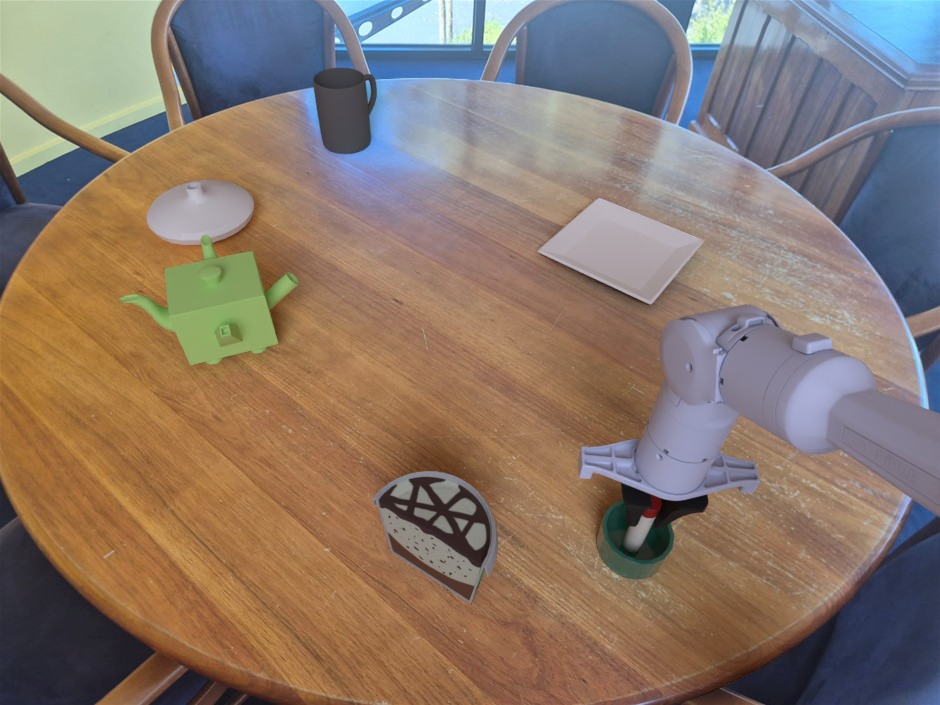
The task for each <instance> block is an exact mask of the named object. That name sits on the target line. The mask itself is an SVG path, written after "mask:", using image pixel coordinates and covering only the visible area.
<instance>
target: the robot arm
mask: <svg viewBox="0 0 940 705" xmlns="http://www.w3.org/2000/svg"><path fill="white" fill-rule="evenodd" d="M659 359H660V365H661V368H662V372H663V374H664V378H663V379H662V383H661V385H660V388H659V389H658V390H659V391H658V393H657V396H656V398H655V401H654V404H653V406H652V408H651V410H650V413H649V416H648V419H647V421H646V424H645V426H644V429H643V432H642V435H641V436H640V437H636V438H631V439H626V440H622V441H618V442H617V441H616V442H613V443H608V444H604V445H598V446H597V445H596V446H585V445H584V446H581V447H580V451H579V454H578V458H577V467H578V468H577V469H578V470H577V471H578V478H579V479H583V480H585V479H586V480H591V479H592V477H593V475H594V474H597V475H601V476H604V477H605V478H609V479H611V480H614V481H616V482H619V483H620V484H621V485H620V486H621V498H622V500H623V501H624V505H625V506H626V514H627V524H628V526H633V527H636V526H637V525H638V523H639V521H640V518H641V516H642V514H643V513H644V512H645V511H646V510H647V509H649V508H652V501H651V495H654V496H657V497H659V498H661V501H662V507H661V509H660V511H659V513H658V515H657V516H656V517H655V519H654V528H655V529H662V528H664V527H665V526H667V525H668V524H670V523H671V524H672V523H673V522H675V521H676V520H678V519H680V518H683V517H685V516H688V515H689V516H690V515H692V514H702V513H705V511H706V510H707V507H708V506H709V503H710V502H709V497H708V496H709V495H711V494H715V493H718V492H723V491H727V490H731V489H736V488H738V491H739V492H740V493H742V494H749V495H753V494H754V492H755V491H756V489H757V488H758V486H760V484H761V482H762V481H761V476H760V473H759V470H758V465H757V462H756V461H754V460H753V461H752V460H744V459H741V458H737V457H734V456H731V455H728V454H726V453H723V452H720V451H721V449H722V447H723V446H724V444H725V443H726V440H727V438H729V436H730V434H731V431H732V430H733V428H734V427H735V425H736V423H737V421H738V419H739V418H740V416H743V417H744V418H746V419H748V420H749V421H751V422H753V424H755V425H757V426H759V427H760V428H762V429H763V430H765V431H766V432H768V433H770V434H771V435H773V436H775V437H777V438H778V439H780V440H781V441H783V442H785V443H786V444H788V445H789V446H791V447H793V448H794V449H795V450H797V451H799V452H801V453H803V454H807V455H811V456H812V455H813V456H816V455H818V456H819V455H827V454H831V453H833V452H837V451H839V450H840V451H841V452H843V453H844V454H845V455H847V456H848V457H850V458H851V459H853V460H854V461H856V462H857V463H858V464H860V465H862V466H863V467H864V468H866V469H868V470H869V471H871V472H872V473H874V474H875V475H876V476H878V477H879V478H881V479H882V480H884V481H885V482H887V483H888V484H889V485H891V486H893V487H894V488H895V489H897V490H898V491H900V492H902V493H903V494H904V495H906V496H907V497H908V498H910V499H912V500H913V501H915V502H916V503H917V504H919V505H921V506H922V507H924V508H925V509H926V510H928V511H929V512H931V513H932V514H934V515H935V516H936V517H938V518H940V413H939V412H937V411H934V410H931V409H929V408H926V407H923V406H920V405H917V404H915V403H912V402H909V401H906V400H903V399H901V398H898V397H896V396H893V395H890V394H887V393H884V392H882V391H879V388H878V383H877V380H876V378H875V375H874V373H873V371H872V369H871V368H870V367H869V365H868V364H867V363H866V362H864V361H863V360H861V359H860V358H858V357H855V356H852V355H850V354H847V353H844V352H842V351H839V350H837V349H834V348H833V339H832V338H831V337H829V336H826V335H824V334H822V333H819V332H812V333H806V334H803V335H799V334H797V333H794V332H791V331H789V330H786V329H784V328H783V327H782V326H781V324H780V322H779V321H778V320H777V319H776V318H775V316H773V314H772V313H769V312H768V311H765V310H763V309H762V308H760V307H758V306H756V305H753V304H748V303H747V304H741V305H734V306H730V307H725V308H720V309H713V310H709V311H704V312H698V313H693V314H687V315H684V316H680V317H679V318H673V319H671V320H668V322H667V323H666V324H665V325H664V327H663V329H662V331H661V334H660V338H659Z"/></svg>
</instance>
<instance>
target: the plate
mask: <svg viewBox="0 0 940 705" xmlns="http://www.w3.org/2000/svg"><path fill="white" fill-rule="evenodd" d="M704 243H705V240H704V239H702V238H701V237H698V236H695V235H692V234H690V233H687V232H685V231H682V230H680V229H678V228H675V227H673V226H670V225H668V224H666V223H662V222H661V221H658V220H656V219H653V218H650V217H648V216H647V215H646V216H645V215H643V214H641V213H638V212H635V211H633V210H632V209H631V210H630V209H628V208H626V207H623V206H621V205H618V204H616V203H614V202H611V201H609V200H606V199H604V198H602V197H596V198H595V199H594V200H593V201H592V202H591V203H589V204H588V206H586V207H585V208H584V209H582V211H580V212H579V213H578V214H577V215H575V217H573V219H571V220H570V221H569V222H568V223H567V224H566V225H564V226H563V227H562V228H561V229H560V230H559V231H558V232H556V234H554V235H553V236H552V237H551V238H550V239H549V240H547V241H546V242H545V243H544V244H543V245H542V246H541V247H539V249H537V253H538V254H539V255H540V256H542V257H545V258H546V259H549V260H551V261H552V262H553V261H554V262H555V263H558V264H559V265H561V266H564V267H565V268H568V269H570V270H572V271H574V272H576V273H578V274H581V275H583V276H585V277H587V278H589V279H591V280H594V281H596V282H598V283H600V284H602V285H605V286H606V287H609V288H611V289H613V290H615V291H618V292H619V293H621V294H623V295H626V296H628V297H631V298H633V299H635V300H637V301H639V302H641V303H643V304H645V305H647V306H648V305H653V303H654V302H655V301H656V300H657V298H659V296H660V295H661V294H662V293H663V291H665V289H666V287H668V285H669V284H670V283H671V282H672V280H673V279H674V278H676V276H677V275H678V274H679V272H680V271H682V269H683V268H684V266H685V265H687V263H688V262H689V260H690V259H691V258H692V257H693V256H694V254H696V252H697V251H698V250H699V249H700V247H701V246H702V245H703V244H704Z"/></svg>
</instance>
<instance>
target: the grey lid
mask: <svg viewBox="0 0 940 705" xmlns="http://www.w3.org/2000/svg"><path fill="white" fill-rule="evenodd" d="M254 208H255V202H254V197H253V196H252V195H251V193H250V192H249V191H248V190H246V189H245V188H243V187H242V186H240V185H238V184H236V183H234V182H230V181H228V180H222V179H221V180H220V179H200V180H194V181H189V182H186V183H182V184H179V185H176V186H173V187H171V188H169V189H167V190H166V191H164V192H162V193H161V194H160V195H158V196H157V197H156V198H155V199H154V200H153V201H152V203H151V205H150V207H149V209H148V211H147V212H146V219H145V221H146V224H147V226H148V228H149V229H150V230H151V232H153V234H155V235H156V236H157V237H158V238H159V239H161V240H162V241H165V242H168V243H170V244H174V245H180V246H201V237H202V236H203V235H208V236H209V237H210V238H211V241H212V244H214V243H216V242H219V241H222V240H226V239H227V238H230V237H231V236H233V235H235V234H237V233H239V232H240V231H241V230H243V229H244V228H245V227H246V226H247V225H248V224H249V222H250V221H251V220H252V218H253V214H254V210H255V209H254Z"/></svg>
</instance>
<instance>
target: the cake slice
mask: <svg viewBox="0 0 940 705" xmlns="http://www.w3.org/2000/svg"><path fill="white" fill-rule="evenodd" d="M375 504H376V507H377V509H378V513H379V517H380V520H381V523H382V527H383V530H384V533H385V536H386V537H385V538H386V540H387V543H388V546H389V549H390V550H389V551H390V553H391V554H393V555H394V556H396V557H398V558H399V559H401V560H402V561H403V562H405V563H407V564H408V565H410V566H411V567H413V568H414V569H416V570H418V571H419V572H420V573H422V574H424V575H425V576H427V577H428V578H429V579H431V580H433V581H434V582H436V583H438V584H439V585H441V586H442V587H443V588H445V589H447V590H448V591H450V592H451V593H453V594H454V595H456V596H458V597H459V598H460V599H461V600H463V601H465V602H467V603H468V604H469V605H471V604H472V603H473V601H474V599H475V597H476V595H477V593H478V589H479V587H480V584H481V581H482V578H483V575H484V572H485V575H486V577H488V578H489V577H490V575H491V573H492V571H493V570H494V567H495V564H496V561H497V557H498V552H499V533H498V528H497V524H496V521H495V517H494V515H493V512H492V509H491V508H490V506H489V503H488V502H487V501H486V499H485V497H483V496H482V494H481V493H480V492H479V491H478V490H477V489H476V488H474V487H473V486H472V485H471V484H469V483H468V482H467V481H465V480H464V479H462V478H460V477H458V476H455V475H452V474H449V473H446V472H441V471H435V470H433V471H432V470H431V471H430V470H424V471H415V472H412V473H408V474H404V475H402V476H399V477H397V478H395V479H393V480H392V481H390V482H388V483H387V484H386V485H384V486H383V487H382V488H380V489H379V490H378V491H377V493H375V495H374V496H373V497H372V502H371V505H373V506H374V505H375Z"/></svg>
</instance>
